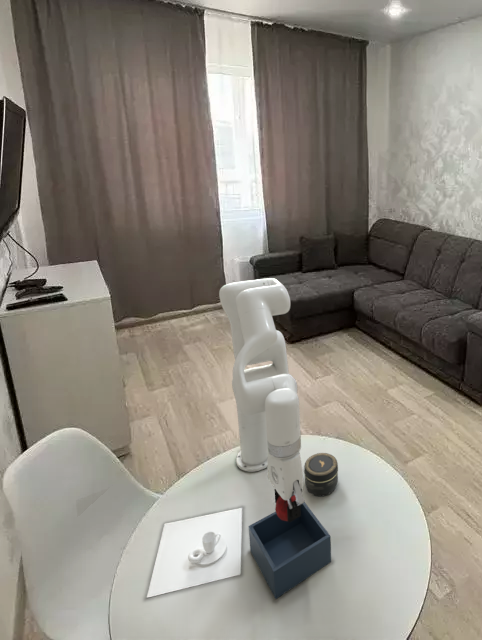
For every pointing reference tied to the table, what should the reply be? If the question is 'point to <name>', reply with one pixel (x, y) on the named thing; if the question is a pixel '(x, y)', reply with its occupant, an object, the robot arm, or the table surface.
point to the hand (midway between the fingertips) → (287, 508)
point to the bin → (289, 549)
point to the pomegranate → (282, 507)
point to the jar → (321, 474)
